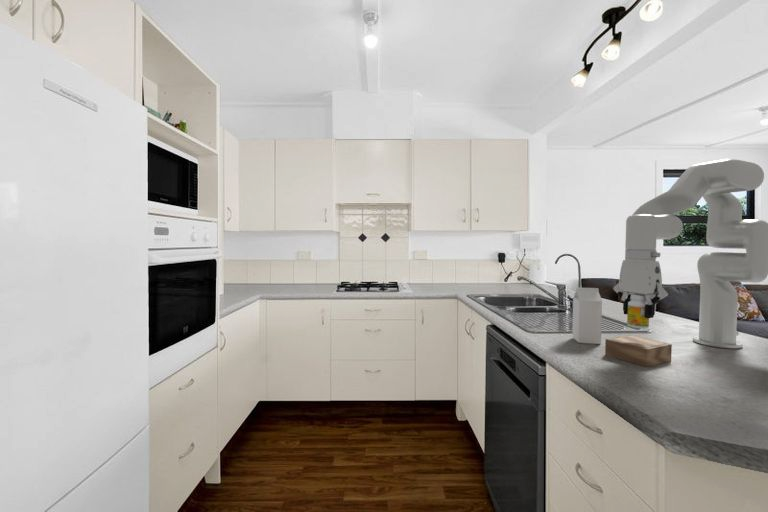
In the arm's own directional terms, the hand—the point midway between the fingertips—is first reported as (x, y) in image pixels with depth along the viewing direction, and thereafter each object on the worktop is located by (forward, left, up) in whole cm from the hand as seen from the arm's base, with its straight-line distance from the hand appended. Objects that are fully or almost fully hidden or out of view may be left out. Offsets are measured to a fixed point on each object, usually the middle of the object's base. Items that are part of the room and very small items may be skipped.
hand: (638, 315), depth 109 cm
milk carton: (-3, -19, -13) cm, 23 cm away
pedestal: (0, 0, -13) cm, 13 cm away
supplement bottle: (0, 0, -4) cm, 4 cm away
